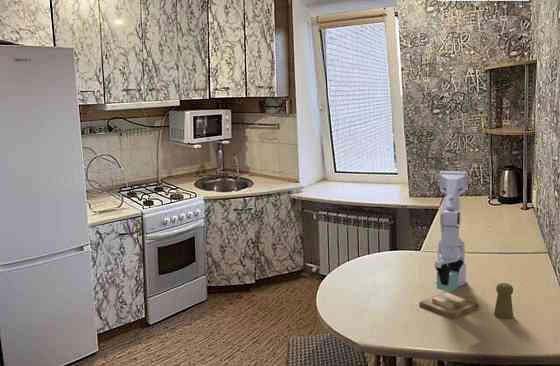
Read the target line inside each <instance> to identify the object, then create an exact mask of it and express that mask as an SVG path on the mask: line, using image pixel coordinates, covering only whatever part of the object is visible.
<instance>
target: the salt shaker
mask: <svg viewBox="0 0 560 366" xmlns="http://www.w3.org/2000/svg"><path fill="white" fill-rule="evenodd" d="M495 290H496V293H497V294H496V295H497V296H496V301H495V306H494V312H493V316H494V317H495V318H497V319H501V320H511V319H513V318H514V313H513V312H514V310H513V309H514V308H513V302H512V301H513V299H512V298H513V297H512V295H513V293H514V287H513V285H511V284H509V283H506V282H501V283H498V284H497V285H496V289H495Z"/></svg>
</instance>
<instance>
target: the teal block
mask: <svg viewBox="0 0 560 366" xmlns="http://www.w3.org/2000/svg"><path fill="white" fill-rule="evenodd" d="M436 282H437V283H436V289H437V290H440V291H443V292H447V293H451V292H453V291H455V290H457V289H458V288H459V286H458V272H457V271H453V270H451V271H450V274H449V280H448V285H443V284H441V281H440V277H439V274H438V272H436Z"/></svg>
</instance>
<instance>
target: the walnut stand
mask: <svg viewBox="0 0 560 366" xmlns="http://www.w3.org/2000/svg"><path fill="white" fill-rule="evenodd" d="M419 307H422V308H425V309H427V310H429V311H432V312H434V313H437V314H439V315H441V316H444V317H447V318H449V319H451V320H453V319H456V318H458V317H459V316H462V315H465V314H467V313H469V312H472V311H474V310H477V309H479V303H477V302H475V301H471V300H470V299H467V298H464V297H462V296H458V295H456V294H453V293H451V292H447V291H442V292H441V293H438V294H436V295H434V296H430V297H428V298H425V299H422V300H420V301H419Z"/></svg>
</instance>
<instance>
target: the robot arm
mask: <svg viewBox="0 0 560 366" xmlns="http://www.w3.org/2000/svg"><path fill="white" fill-rule="evenodd" d="M467 179H468V172H467V171H466V170H464V171H459V170H458V171H455V170H453V171H452V170H451V171H449V170H448V171H447V170H444V171H443V170H441V171H439V180H438V181H439V190H440V192H441V193H444V194H445V197H444V198H443V200H442V209H441V212H440V214H439V215H440V216H439V218H440V219H439V225H440V232H441V233H440V237H441V238H440V239H439V241H438V245H437V259H436V260H435V261H434V268H435V269H436V271H437V272H438V274H439V277H440V281H441V284H443V285H448V280H449V274H450V271H451V270H453V271H457V272H458V287H460V286H463V285H466V284H468V280H467V264H466V263H465V251H466V247H465V244H466V243H465V241H464V240H463V239H461V238H460V235H459V234H460V228H461V227H460V226H461V215H462V213H461V200H460V197H461V195H462V194H464V193H466V191H467V187H468V186H467V184H468V183H467V181H468V180H467ZM437 272H436V273H437ZM435 283H436V284H437V281H435Z"/></svg>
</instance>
